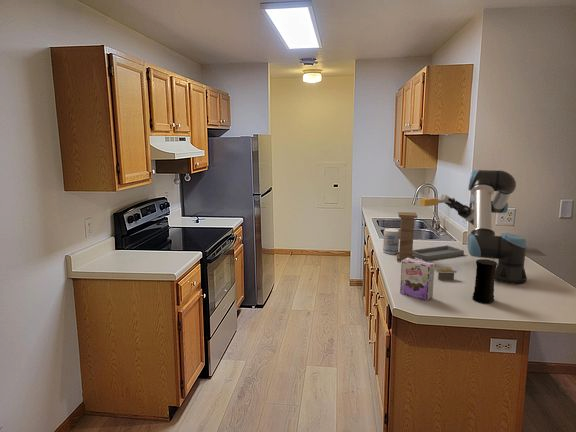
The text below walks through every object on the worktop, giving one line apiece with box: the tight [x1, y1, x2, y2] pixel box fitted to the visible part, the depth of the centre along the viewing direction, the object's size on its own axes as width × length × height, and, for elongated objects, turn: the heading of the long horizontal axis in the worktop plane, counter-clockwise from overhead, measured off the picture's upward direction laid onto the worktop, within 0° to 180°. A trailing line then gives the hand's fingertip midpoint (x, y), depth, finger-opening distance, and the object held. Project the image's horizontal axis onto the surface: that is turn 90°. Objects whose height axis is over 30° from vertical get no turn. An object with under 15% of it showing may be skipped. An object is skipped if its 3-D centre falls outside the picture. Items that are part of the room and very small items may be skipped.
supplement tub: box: [382, 228, 400, 255], centre depth 264 cm, size 10×10×15 cm
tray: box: [412, 244, 465, 262], centre depth 258 cm, size 30×14×3 cm, turn 113°
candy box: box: [399, 258, 436, 301], centre depth 191 cm, size 14×6×16 cm, turn 45°
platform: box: [436, 266, 458, 281], centre depth 214 cm, size 12×18×7 cm, turn 86°
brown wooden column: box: [395, 211, 418, 262], centre depth 246 cm, size 10×10×28 cm
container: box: [472, 258, 498, 305], centre depth 185 cm, size 9×9×18 cm
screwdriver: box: [419, 197, 455, 207], centre depth 251 cm, size 24×4×4 cm, turn 113°
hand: (442, 196), depth 252 cm, fingers closed on screwdriver, 2 cm apart
